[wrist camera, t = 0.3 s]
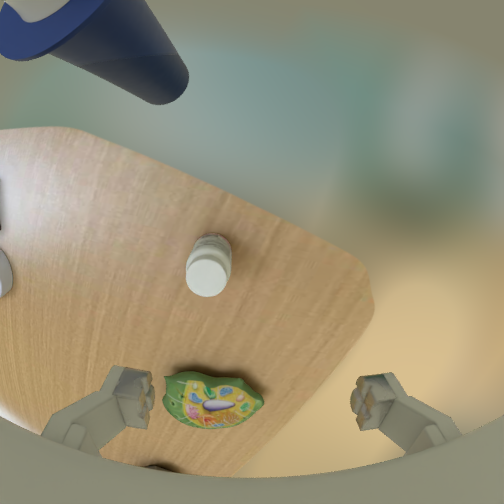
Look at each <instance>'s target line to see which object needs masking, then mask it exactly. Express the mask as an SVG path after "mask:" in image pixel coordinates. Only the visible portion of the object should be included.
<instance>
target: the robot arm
mask: <svg viewBox="0 0 504 504" xmlns="http://www.w3.org/2000/svg"><path fill="white" fill-rule="evenodd" d="M3 1H5V2H6V3H7V4H8V5H10V6H11V7H12V8H13V9H14V10H15V11H16V12H17V13H18V14H19V15H20V17H21V18H22V19H23V20H24V21H25V22H29V23H32V22H37V21H40V20H42V19H44V18H46V17H48V16H50V15H52V14H53V13H55V12H56V11H57V10H59V9H60V8H61V7H63V6H64V5H65V4H66V3H67V2H68V1H69V0H3ZM151 382H152V375H151V372H150V371H144V370H139V369H133V368H128V367H121V366H117V365H114V366H113V367H112V368H111V370H110V372H109V374H108V375H107V377H106V379H105V381H104V383H103V385H102V387H101V389H100V391H99V392H98V391H95V392H93V393H92V394H90V395H88V396H86V397H84V398H82V399H81V400H79V401H77V402H75V403H73V404H71V405H69V406H68V407H66V408H64V409H62V410H60V411H58V412H56V413H54V414H52V416H51V418H50V420H49V422H48V423H47V425H46V427H45V429H44V431H43V432H42V434H41V436H40V435H37V434H35V433H33V432H31V431H29V430H26V429H24V428H22V427H20V426H18V425H16V424H14V423H12V422H10V421H8V420H6V419H4V418H2V417H1V416H0V504H504V415H503V416H501V417H499V418H497V419H495V420H494V421H492V422H490V423H488V424H486V425H484V426H481V427H479V428H477V429H475V430H473V431H471V432H469V433H466V434H464V435H462V434H461V432H460V431H459V429H458V428H457V426H456V425H455V423H454V422H453V420H452V419H451V417H449V416H447V415H445V414H443V413H441V412H439V411H437V410H436V409H434V408H432V407H430V406H428V405H426V404H425V403H423V402H421V401H419V400H417V399H415V398H414V397H412V396H408V395H407V394H406V392H405V391H404V389H403V388H402V386H401V384H400V383H399V381H398V380H397V379H396V377H395V375H394V374H393V373H391V372H390V373H383V374H376V375H367V376H360V377H359V378H358V379H357V382H356V385H357V388H356V389H354V390H353V392H352V395H351V399H350V400H351V401H350V404H351V408H352V411H353V412H354V413H355V414H357V415H358V416H357V418H356V421H357V423H358V426H359V428H360V431H363V430H370V429H376V428H379V430H380V431H381V432H382V433H384V434H385V435H386V436H387V437H389V438H390V439H391V440H392V441H393V442H395V443H396V444H397V445H398V446H400V447H401V448H402V449H403V450H405V451H406V453H405V455H404V456H403V457H399V458H396V459H392V460H388V461H384V462H380V463H376V464H372V465H367V466H362V467H358V468H352V469H347V470H341V471H334V472H328V473H320V474H312V475H302V476H289V477H271V478H231V477H212V476H200V475H190V474H181V473H174V472H167V471H160V470H155V469H149V468H144V467H139V466H134V465H130V464H125V463H121V462H117V461H113V460H109V459H106V458H102V456H101V454H100V453H99V451H98V450H99V449H101V448H102V447H103V446H104V445H106V444H107V443H108V442H109V441H110V440H112V439H113V438H114V437H115V436H116V435H118V434H119V433H120V432H121V431H122V430H123V429H125V428H126V426H128V427H134V428H140V429H147V427H148V423H149V420H150V414H149V411H150V410H152V409H153V405H154V399H155V391H154V387H153V386H152V385H151Z"/></svg>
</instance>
